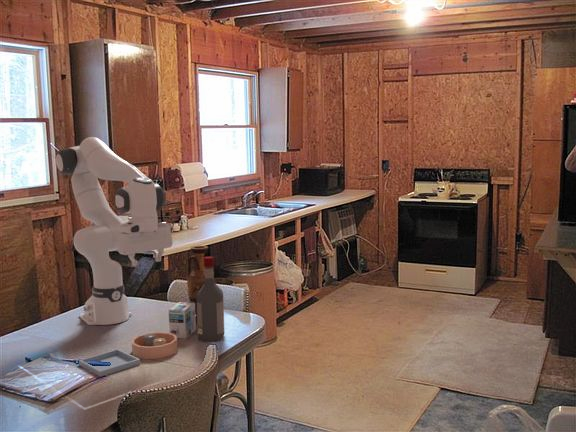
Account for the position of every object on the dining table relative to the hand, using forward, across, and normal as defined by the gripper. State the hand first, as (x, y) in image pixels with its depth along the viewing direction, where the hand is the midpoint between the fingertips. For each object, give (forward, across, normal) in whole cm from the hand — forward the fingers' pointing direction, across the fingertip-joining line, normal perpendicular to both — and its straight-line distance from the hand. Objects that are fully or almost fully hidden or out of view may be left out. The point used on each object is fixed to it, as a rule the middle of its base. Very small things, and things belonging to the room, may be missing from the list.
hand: (146, 263), depth 211 cm
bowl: (+29, +4, +9) cm, 31 cm away
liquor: (+29, -18, +12) cm, 36 cm away
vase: (+29, -28, -7) cm, 41 cm away
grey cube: (+28, +4, +6) cm, 29 cm away
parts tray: (+29, +21, +9) cm, 37 cm away
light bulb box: (+29, -14, 0) cm, 32 cm away
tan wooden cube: (+28, +4, +12) cm, 31 cm away
